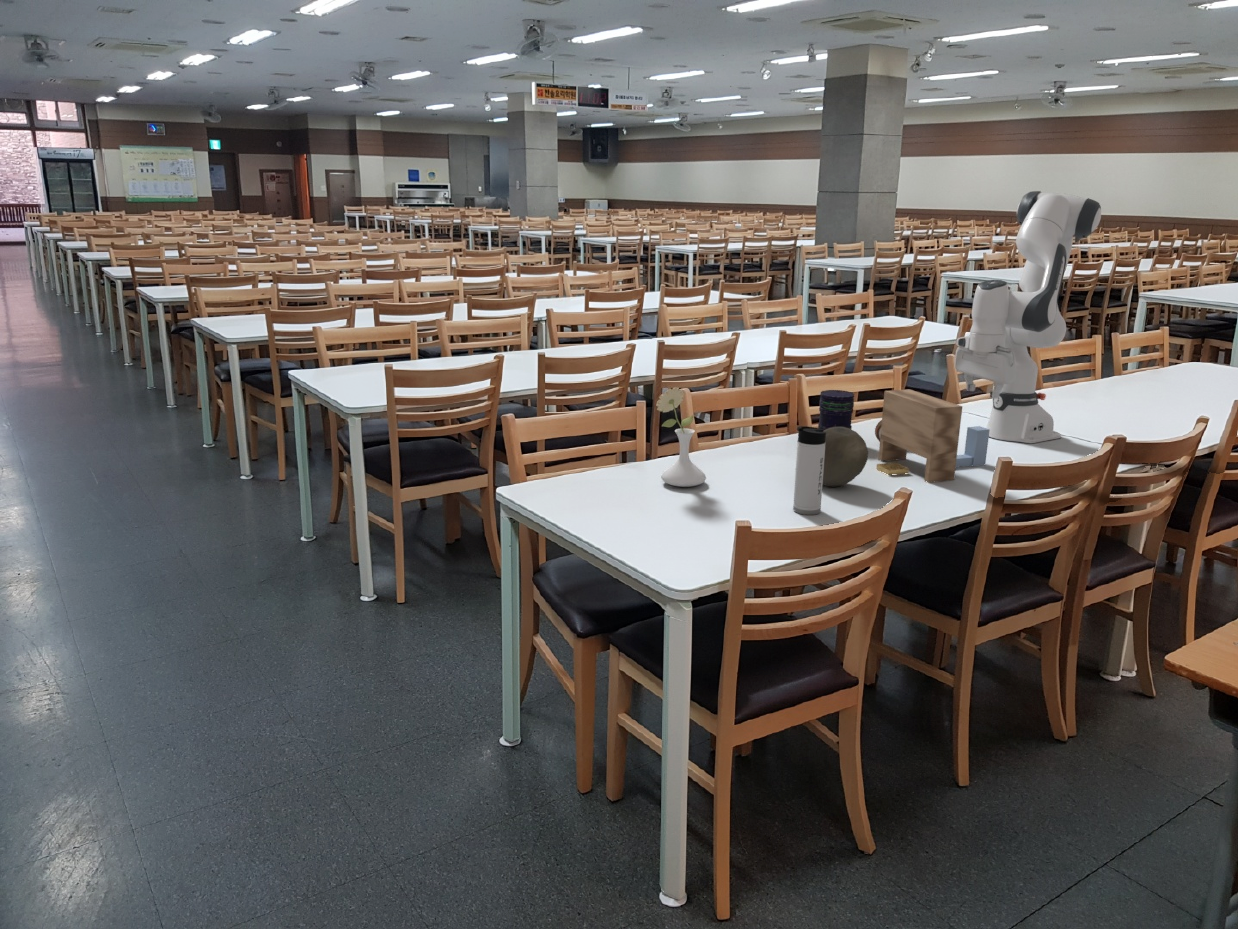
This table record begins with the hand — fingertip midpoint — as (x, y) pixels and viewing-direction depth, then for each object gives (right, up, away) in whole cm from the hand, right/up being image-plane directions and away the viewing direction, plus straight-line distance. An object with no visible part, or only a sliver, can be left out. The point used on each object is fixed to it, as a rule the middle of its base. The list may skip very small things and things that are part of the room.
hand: (982, 394), depth 249 cm
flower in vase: (-82, -24, -15) cm, 87 cm away
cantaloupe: (-43, -24, -15) cm, 52 cm away
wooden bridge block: (-18, -20, -1) cm, 27 cm away
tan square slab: (-25, -21, -3) cm, 33 cm away
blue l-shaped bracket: (-6, -19, +3) cm, 20 cm away
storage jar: (-34, -13, +26) cm, 44 cm away
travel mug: (-54, -30, -34) cm, 71 cm away
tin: (-15, -14, +23) cm, 30 cm away
